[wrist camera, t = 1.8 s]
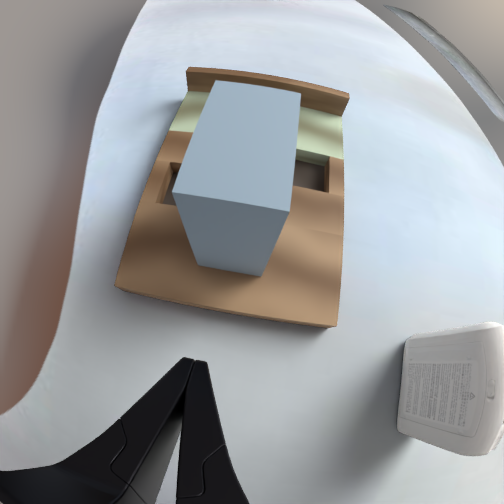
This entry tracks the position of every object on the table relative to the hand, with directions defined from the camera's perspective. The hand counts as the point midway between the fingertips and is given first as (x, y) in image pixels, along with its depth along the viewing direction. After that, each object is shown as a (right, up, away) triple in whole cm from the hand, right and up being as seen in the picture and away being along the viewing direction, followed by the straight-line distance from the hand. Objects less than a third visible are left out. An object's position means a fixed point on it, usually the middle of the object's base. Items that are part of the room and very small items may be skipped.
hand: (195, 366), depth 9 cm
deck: (+1, +9, +18) cm, 20 cm away
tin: (+1, +6, +14) cm, 16 cm away
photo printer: (+18, -9, +13) cm, 24 cm away
